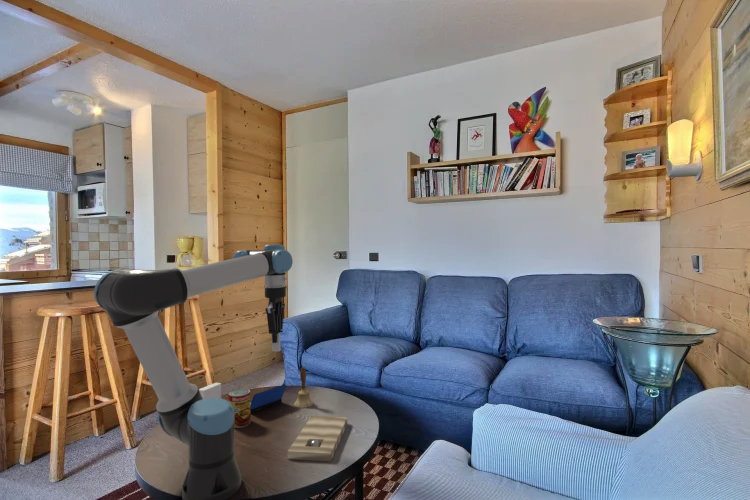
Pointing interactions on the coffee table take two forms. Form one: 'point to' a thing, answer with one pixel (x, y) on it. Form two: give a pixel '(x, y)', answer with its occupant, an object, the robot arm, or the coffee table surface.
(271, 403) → the handheld game console
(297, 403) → the hand bell
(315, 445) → the ball
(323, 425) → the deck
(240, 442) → the coffee table surface
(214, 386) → the base with upright slab
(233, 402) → the canned food
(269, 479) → the coffee table surface
